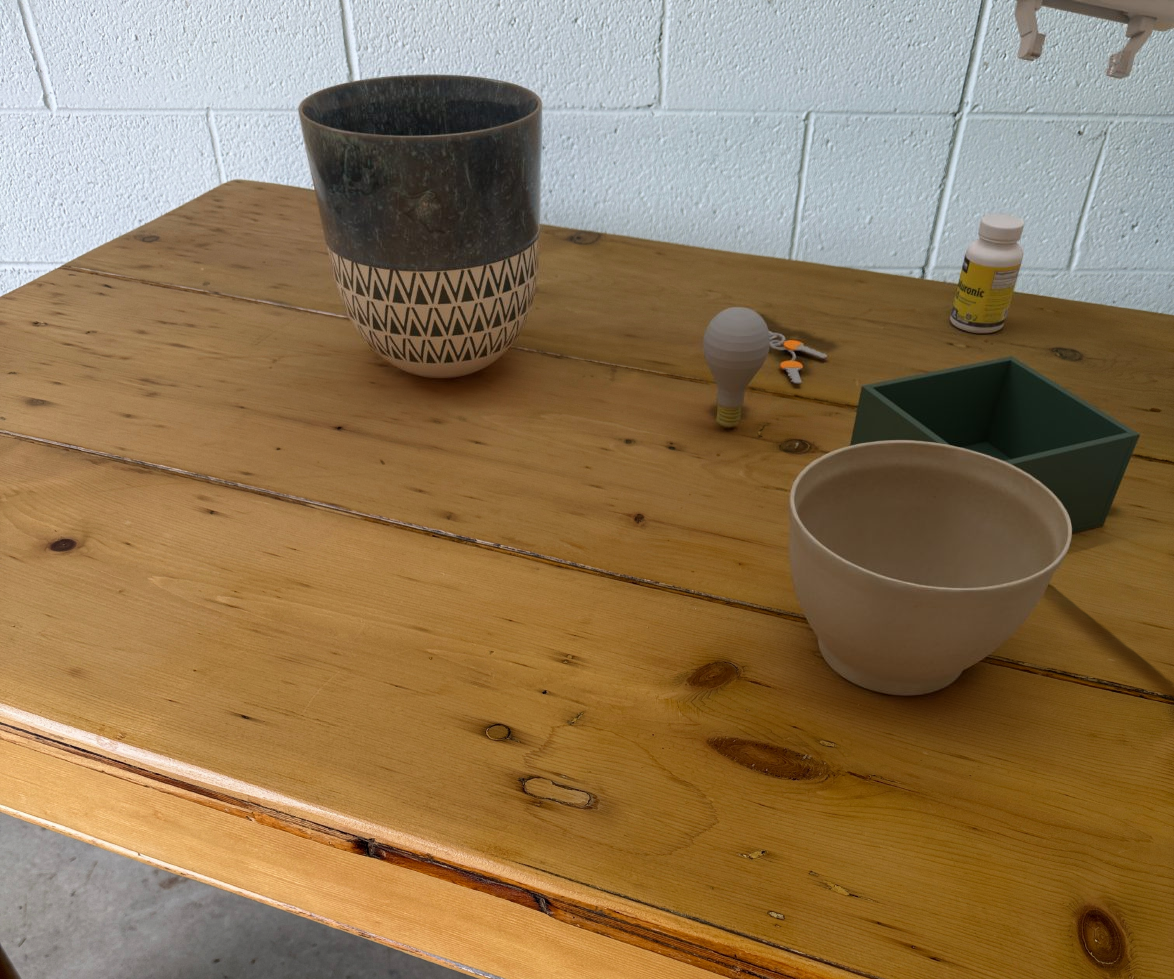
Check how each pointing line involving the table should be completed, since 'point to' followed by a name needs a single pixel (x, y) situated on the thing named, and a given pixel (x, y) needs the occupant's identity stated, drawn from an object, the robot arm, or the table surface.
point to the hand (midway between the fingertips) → (1073, 67)
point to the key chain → (791, 346)
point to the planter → (430, 213)
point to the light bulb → (734, 357)
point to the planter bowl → (919, 558)
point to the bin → (1008, 428)
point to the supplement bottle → (988, 275)
